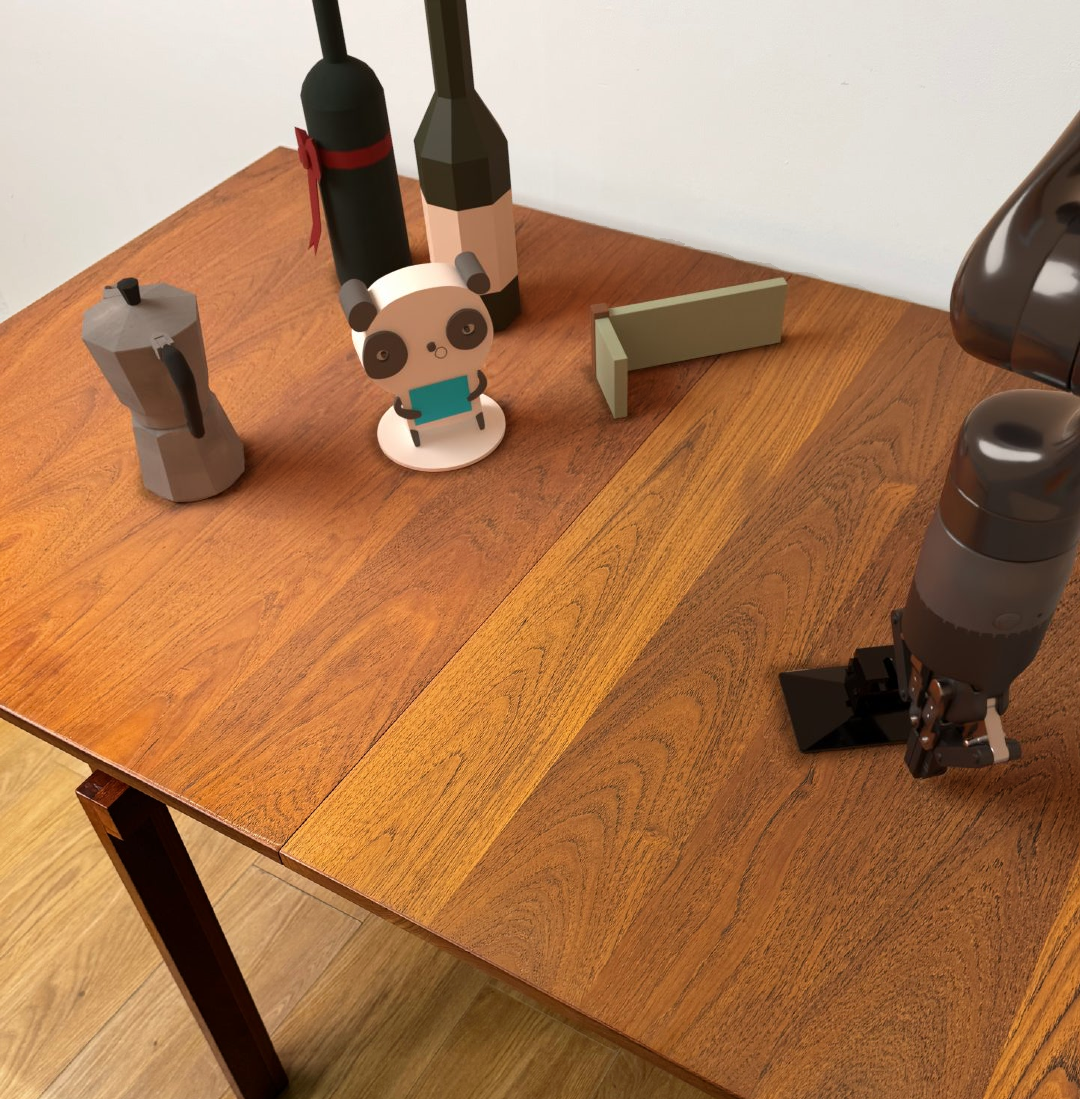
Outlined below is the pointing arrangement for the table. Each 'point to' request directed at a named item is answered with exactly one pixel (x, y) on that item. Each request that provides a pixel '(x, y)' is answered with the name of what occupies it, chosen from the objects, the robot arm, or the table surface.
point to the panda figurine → (428, 361)
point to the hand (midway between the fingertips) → (922, 767)
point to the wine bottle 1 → (351, 159)
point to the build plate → (848, 703)
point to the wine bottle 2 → (466, 167)
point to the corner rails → (681, 331)
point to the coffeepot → (164, 388)
